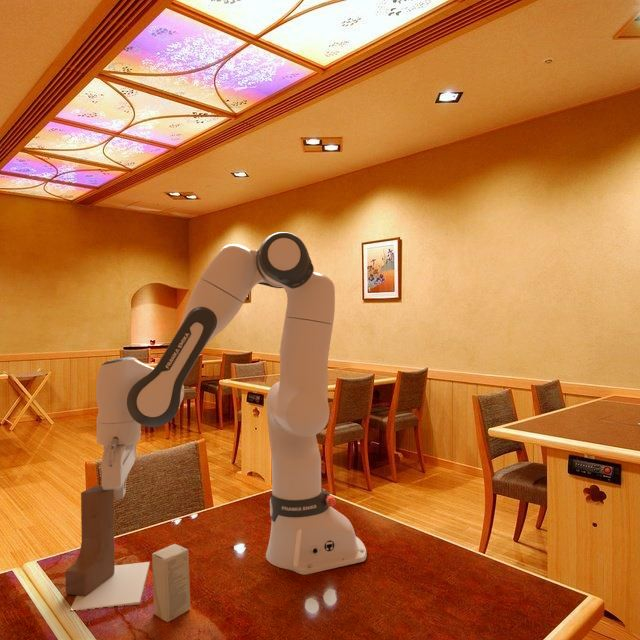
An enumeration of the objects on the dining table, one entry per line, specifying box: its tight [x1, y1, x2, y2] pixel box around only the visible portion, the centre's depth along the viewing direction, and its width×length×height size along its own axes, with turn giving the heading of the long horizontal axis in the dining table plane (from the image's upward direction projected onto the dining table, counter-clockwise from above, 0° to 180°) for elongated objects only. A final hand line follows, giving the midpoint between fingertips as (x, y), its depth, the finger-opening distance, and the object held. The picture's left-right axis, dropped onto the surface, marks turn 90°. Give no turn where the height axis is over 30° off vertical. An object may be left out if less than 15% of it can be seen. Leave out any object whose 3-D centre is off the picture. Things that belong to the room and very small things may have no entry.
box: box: [151, 543, 191, 623], centre depth 91 cm, size 5×4×11 cm
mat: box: [70, 561, 151, 612], centre depth 100 cm, size 12×16×1 cm
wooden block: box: [64, 485, 115, 596], centre depth 100 cm, size 9×4×18 cm, turn 166°
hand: (120, 497), depth 109 cm, fingers closed
